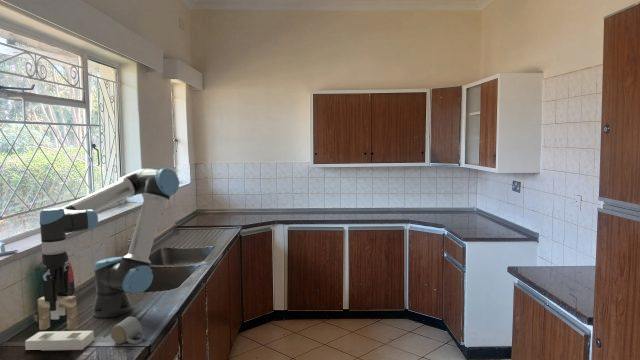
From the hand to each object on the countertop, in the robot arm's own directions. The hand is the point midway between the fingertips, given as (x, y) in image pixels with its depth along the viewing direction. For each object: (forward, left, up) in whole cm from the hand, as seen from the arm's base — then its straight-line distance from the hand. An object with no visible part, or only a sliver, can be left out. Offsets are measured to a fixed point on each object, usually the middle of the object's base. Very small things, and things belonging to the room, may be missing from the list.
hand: (58, 316), depth 162 cm
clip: (0, 0, -4) cm, 4 cm away
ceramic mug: (-23, +6, -11) cm, 26 cm away
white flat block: (0, 0, -11) cm, 11 cm away
